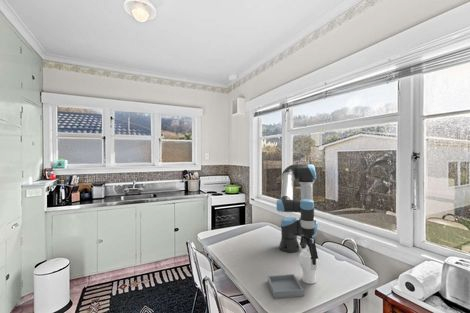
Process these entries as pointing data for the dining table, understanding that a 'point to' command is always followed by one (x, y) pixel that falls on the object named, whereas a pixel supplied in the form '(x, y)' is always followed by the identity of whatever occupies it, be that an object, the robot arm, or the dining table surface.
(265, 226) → the dining table surface
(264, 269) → the dining table surface
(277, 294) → the tray
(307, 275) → the cup
